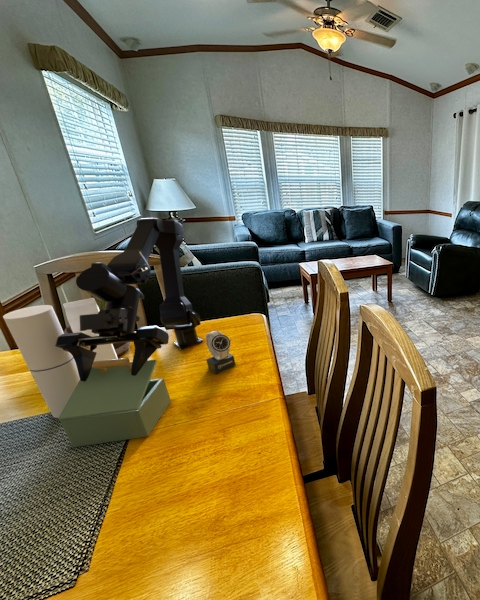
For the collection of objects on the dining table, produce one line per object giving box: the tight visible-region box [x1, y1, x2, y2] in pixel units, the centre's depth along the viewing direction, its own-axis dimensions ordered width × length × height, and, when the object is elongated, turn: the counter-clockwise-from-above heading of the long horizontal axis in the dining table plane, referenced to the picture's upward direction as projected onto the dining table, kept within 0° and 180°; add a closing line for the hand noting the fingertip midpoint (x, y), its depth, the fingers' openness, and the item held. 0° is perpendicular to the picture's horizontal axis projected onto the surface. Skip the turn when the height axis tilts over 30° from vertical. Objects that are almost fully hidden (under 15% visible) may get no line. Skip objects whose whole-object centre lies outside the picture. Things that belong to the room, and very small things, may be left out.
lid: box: [57, 357, 158, 421], centre depth 68 cm, size 12×14×4 cm
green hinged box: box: [59, 377, 172, 448], centre depth 72 cm, size 12×14×7 cm
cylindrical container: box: [2, 304, 80, 419], centre depth 73 cm, size 7×7×25 cm
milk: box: [62, 297, 119, 366], centre depth 87 cm, size 6×6×22 cm
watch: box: [205, 330, 236, 375], centre depth 91 cm, size 6×8×11 cm
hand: (108, 378), depth 69 cm, fingers open, 9 cm apart
